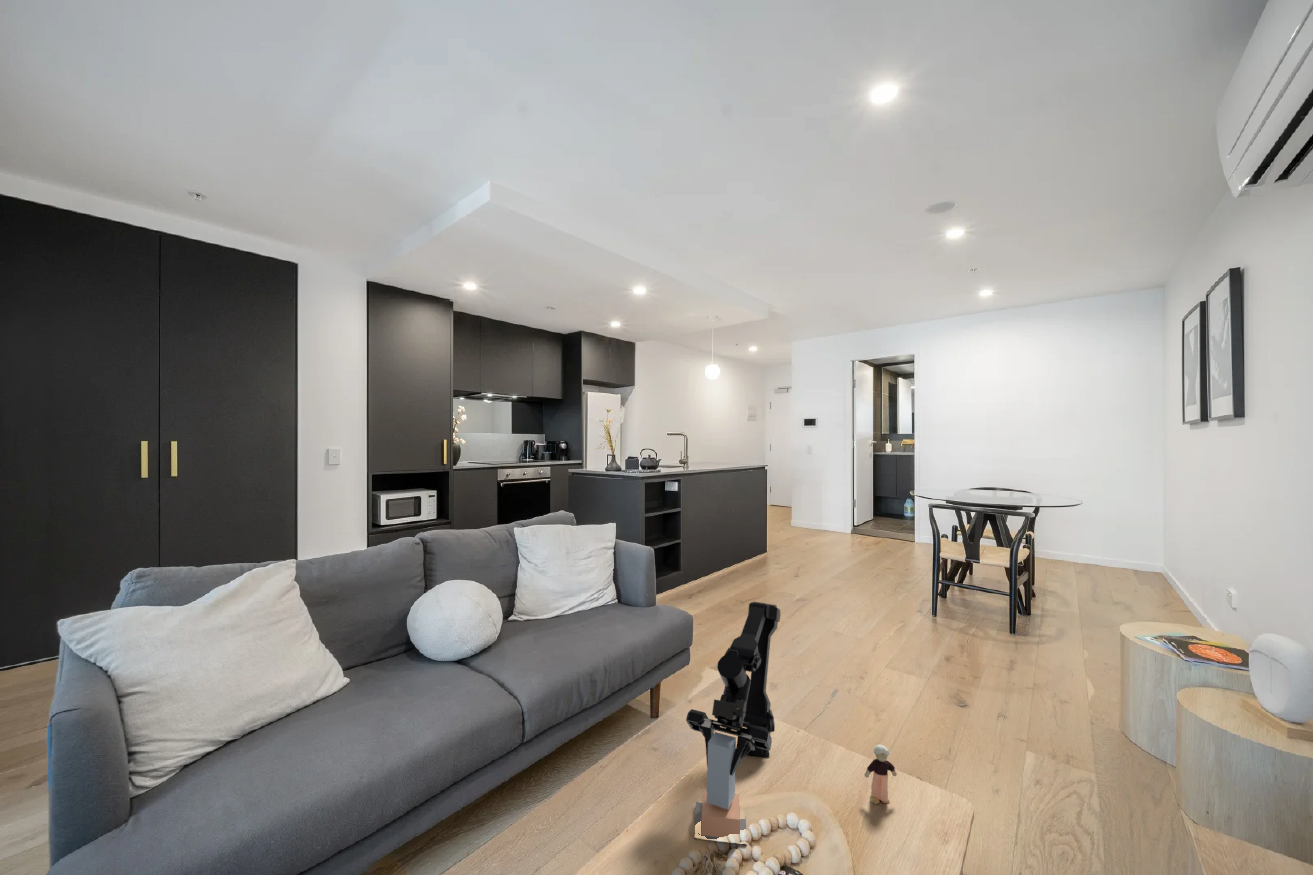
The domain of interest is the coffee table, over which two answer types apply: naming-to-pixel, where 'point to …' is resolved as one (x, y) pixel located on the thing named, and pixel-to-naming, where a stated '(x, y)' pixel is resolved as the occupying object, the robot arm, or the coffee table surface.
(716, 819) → the tower base
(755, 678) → the robot arm
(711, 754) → the slate column brick
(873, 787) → the grandmother figurine
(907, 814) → the coffee table surface
